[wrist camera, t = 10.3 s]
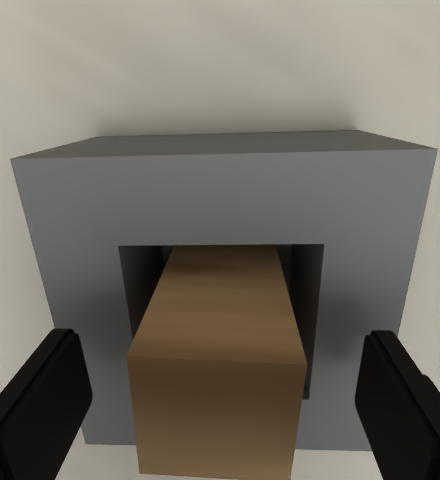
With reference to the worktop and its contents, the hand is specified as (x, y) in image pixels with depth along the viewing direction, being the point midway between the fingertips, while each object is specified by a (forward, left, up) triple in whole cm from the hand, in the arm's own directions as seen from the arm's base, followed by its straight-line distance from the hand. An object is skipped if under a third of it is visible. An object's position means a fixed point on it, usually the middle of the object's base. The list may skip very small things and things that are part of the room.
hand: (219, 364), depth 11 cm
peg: (0, 0, -8) cm, 8 cm away
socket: (0, 0, -9) cm, 9 cm away
